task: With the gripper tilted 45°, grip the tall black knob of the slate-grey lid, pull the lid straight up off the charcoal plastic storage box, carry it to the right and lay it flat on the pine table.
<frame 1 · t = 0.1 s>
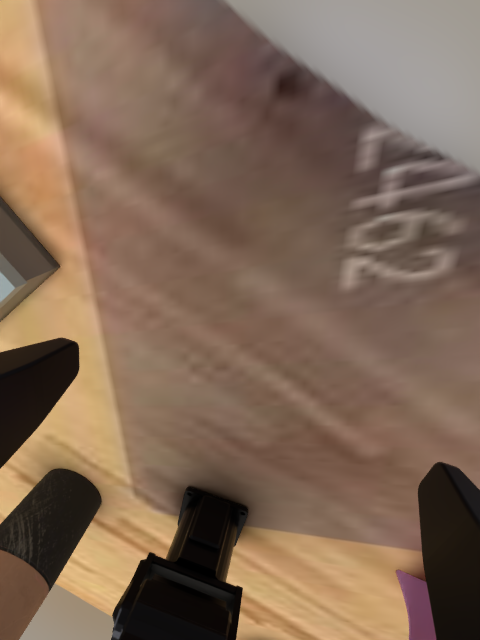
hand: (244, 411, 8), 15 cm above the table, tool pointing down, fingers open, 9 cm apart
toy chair: (451, 563, 30), on the table
travel mug: (74, 489, 38), on the table
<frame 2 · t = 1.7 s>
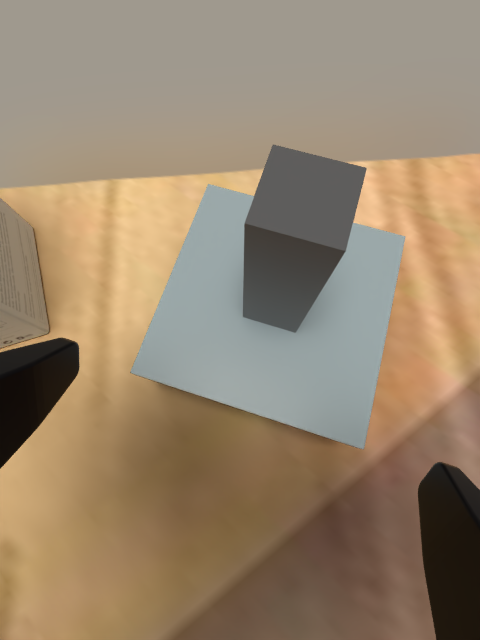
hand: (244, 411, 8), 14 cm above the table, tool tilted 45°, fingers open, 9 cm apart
slate lid: (273, 310, 20), point 3 cm above the table, touching storage box
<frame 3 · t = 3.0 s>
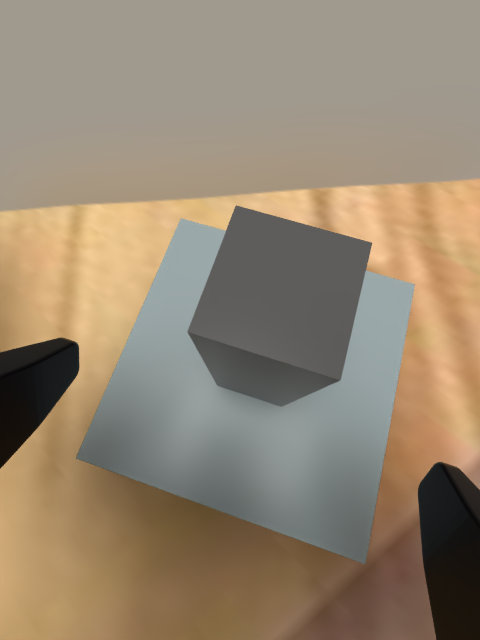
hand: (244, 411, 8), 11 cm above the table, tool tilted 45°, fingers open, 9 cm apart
slate lid: (256, 370, 17), point 3 cm above the table, touching storage box
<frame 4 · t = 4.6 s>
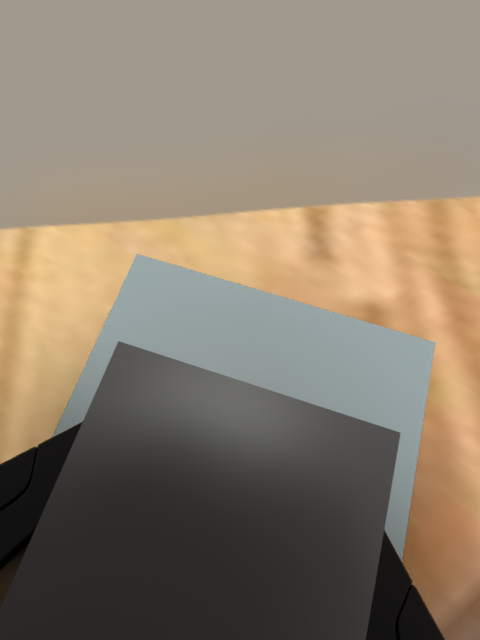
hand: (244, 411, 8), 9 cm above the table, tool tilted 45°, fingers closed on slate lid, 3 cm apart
slate lid: (232, 450, 13), point 3 cm above the table, touching gripper, storage box
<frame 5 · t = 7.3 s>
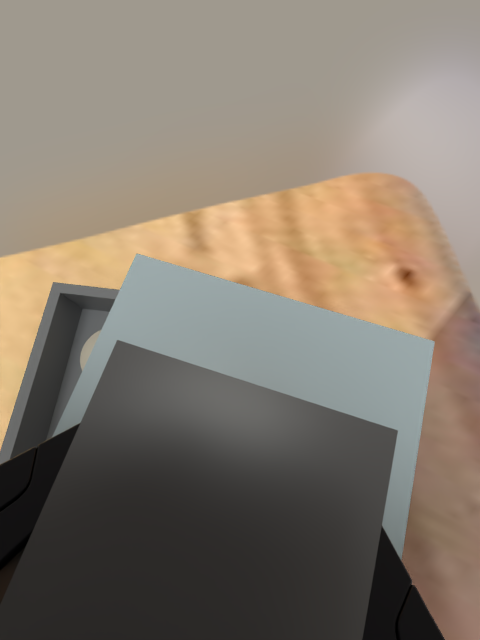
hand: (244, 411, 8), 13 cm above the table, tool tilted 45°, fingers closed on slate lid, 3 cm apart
storage box: (147, 400, 21), on the table
slate lid: (232, 449, 13), point 8 cm above the table, touching gripper
when the fingers open (7 cm above the table, at t = 10.0 s): slate lid drops 2 cm, on the table.
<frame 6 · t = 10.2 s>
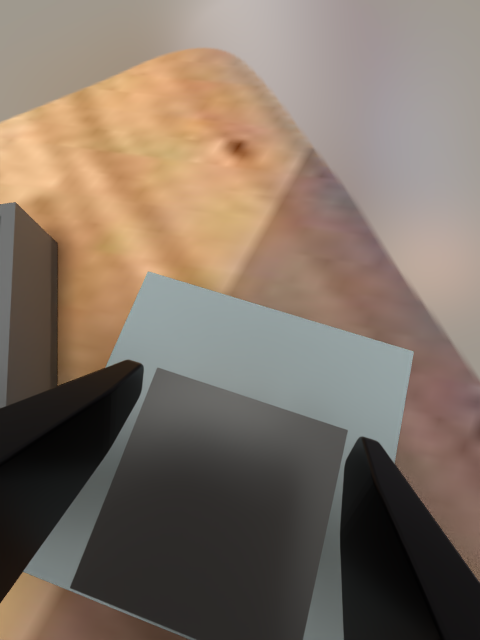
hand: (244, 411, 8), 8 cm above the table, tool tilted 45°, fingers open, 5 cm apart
slate lid: (233, 447, 15), on the table
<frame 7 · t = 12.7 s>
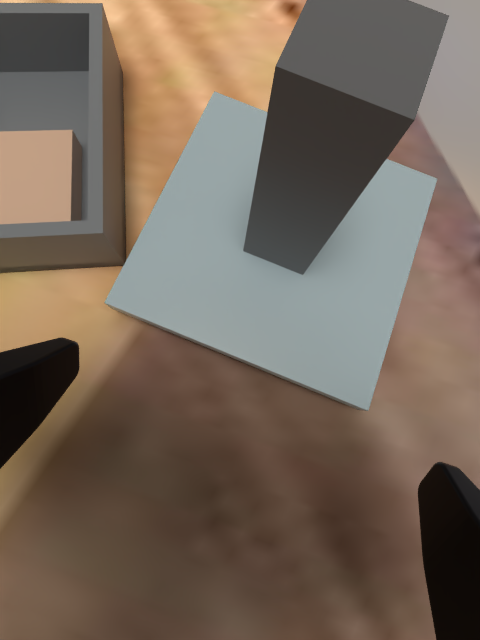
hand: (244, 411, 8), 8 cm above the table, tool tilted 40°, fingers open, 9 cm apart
storage box: (8, 165, 18), on the table
slate lid: (277, 251, 18), on the table
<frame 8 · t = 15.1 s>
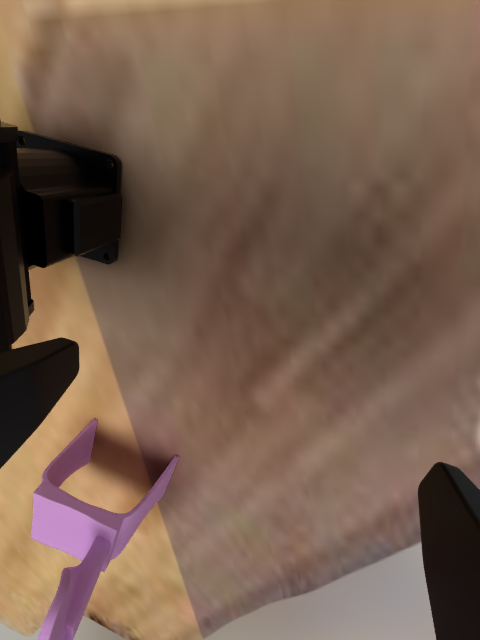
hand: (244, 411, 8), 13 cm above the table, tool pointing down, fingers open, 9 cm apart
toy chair: (129, 455, 31), on the table
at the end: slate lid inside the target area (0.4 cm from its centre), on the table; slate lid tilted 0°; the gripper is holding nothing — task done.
